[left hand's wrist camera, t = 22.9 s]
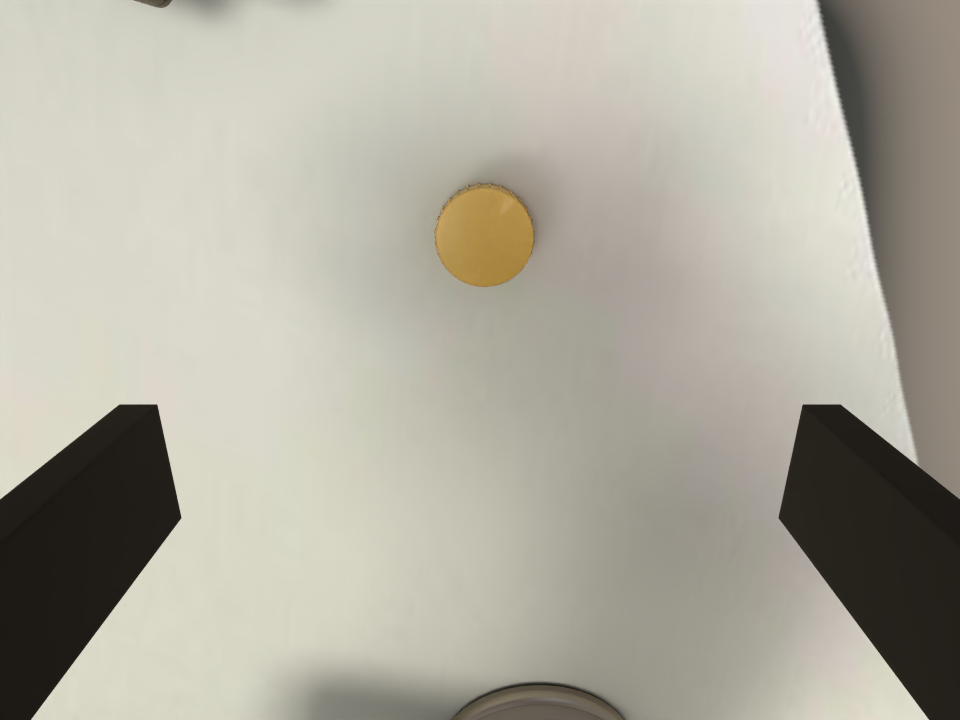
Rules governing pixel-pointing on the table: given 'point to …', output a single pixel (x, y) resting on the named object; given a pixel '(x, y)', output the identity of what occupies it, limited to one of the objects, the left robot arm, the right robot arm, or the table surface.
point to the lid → (484, 235)
